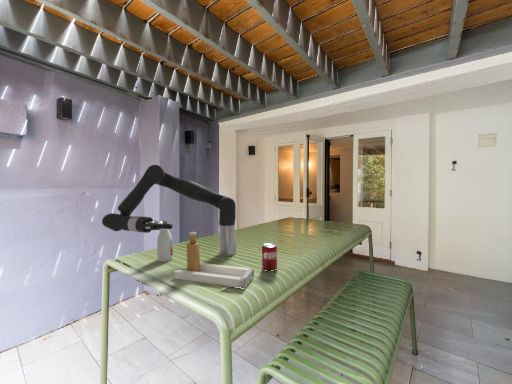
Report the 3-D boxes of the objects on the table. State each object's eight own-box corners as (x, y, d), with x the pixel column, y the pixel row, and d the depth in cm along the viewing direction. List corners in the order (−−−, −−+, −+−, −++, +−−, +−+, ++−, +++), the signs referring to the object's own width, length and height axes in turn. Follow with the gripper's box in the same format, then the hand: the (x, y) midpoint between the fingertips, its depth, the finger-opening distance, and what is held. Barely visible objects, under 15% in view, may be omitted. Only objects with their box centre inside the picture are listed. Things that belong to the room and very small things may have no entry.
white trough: (174, 280, 104) (174, 271, 103) (190, 269, 116) (190, 261, 116) (244, 289, 94) (244, 280, 94) (253, 277, 107) (253, 268, 106)
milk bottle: (167, 262, 125) (166, 225, 124) (154, 261, 127) (153, 224, 126) (175, 258, 133) (174, 222, 132) (163, 257, 134) (162, 221, 133)
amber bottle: (193, 270, 112) (193, 230, 111) (202, 273, 109) (201, 232, 108) (184, 275, 107) (183, 233, 106) (193, 277, 104) (192, 234, 103)
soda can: (261, 267, 119) (261, 243, 118) (275, 266, 119) (275, 242, 119) (262, 272, 111) (262, 247, 111) (278, 272, 112) (278, 246, 111)
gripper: (129, 218, 109) (161, 220, 104) (150, 214, 121) (179, 216, 116) (129, 235, 109) (162, 237, 104) (150, 229, 122) (180, 231, 117)
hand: (171, 226), depth 110 cm, fingers closed
